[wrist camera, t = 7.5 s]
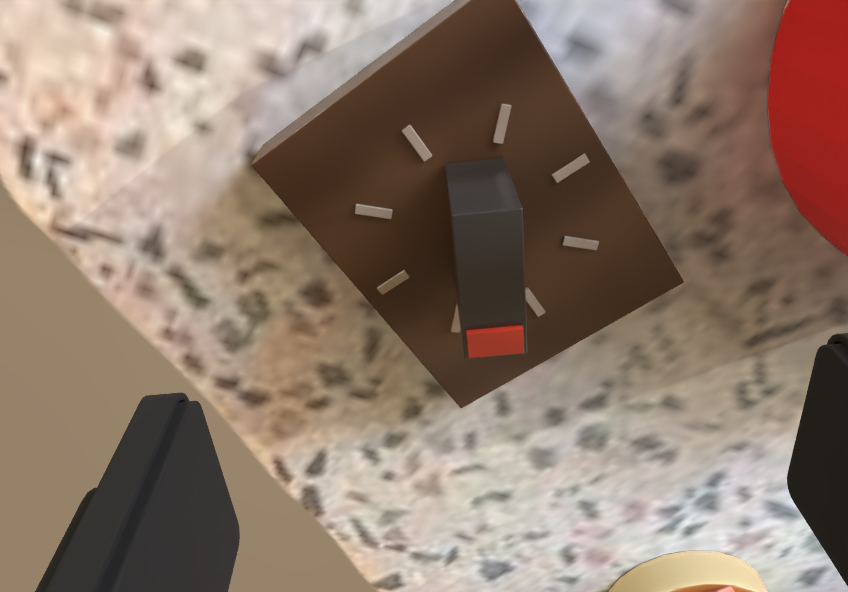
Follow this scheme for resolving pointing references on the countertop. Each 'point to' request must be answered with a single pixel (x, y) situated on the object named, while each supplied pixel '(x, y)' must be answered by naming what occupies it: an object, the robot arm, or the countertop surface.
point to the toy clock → (812, 112)
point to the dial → (487, 257)
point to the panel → (427, 193)
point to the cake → (691, 574)
